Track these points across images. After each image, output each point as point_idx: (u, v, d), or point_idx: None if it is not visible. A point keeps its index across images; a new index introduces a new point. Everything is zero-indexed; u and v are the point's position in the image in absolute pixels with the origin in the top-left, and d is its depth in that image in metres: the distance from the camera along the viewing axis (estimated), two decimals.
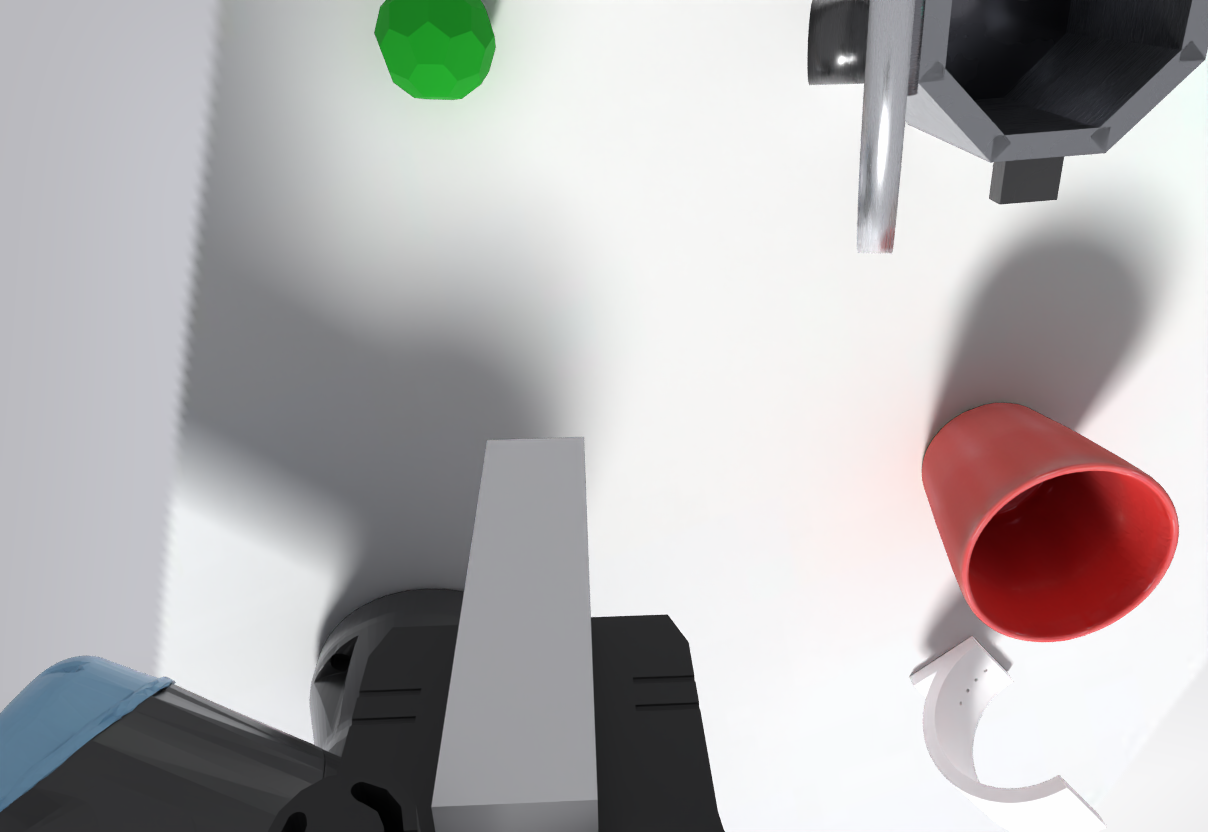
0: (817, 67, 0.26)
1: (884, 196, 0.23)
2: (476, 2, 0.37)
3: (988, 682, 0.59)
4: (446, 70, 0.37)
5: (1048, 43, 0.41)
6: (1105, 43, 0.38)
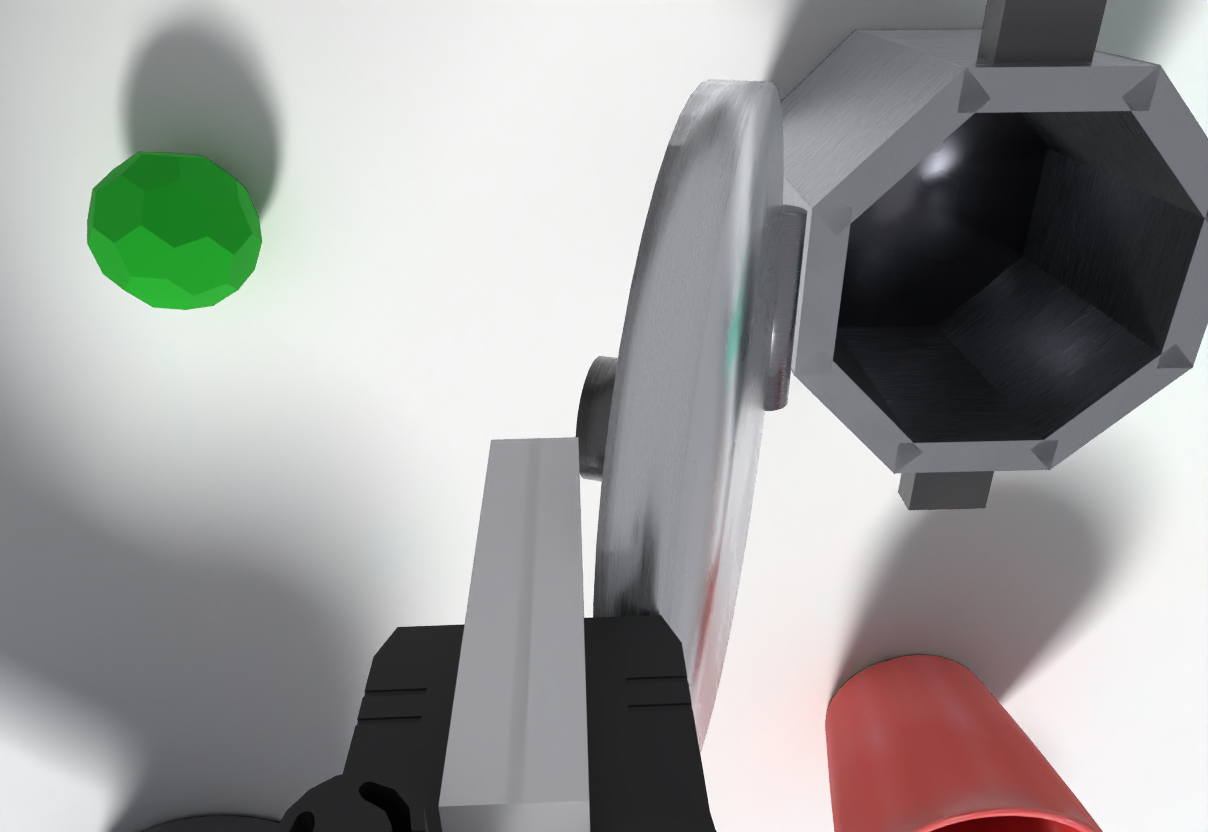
0: (593, 472, 0.17)
1: None
2: (225, 191, 0.27)
3: None
4: (173, 285, 0.27)
5: (999, 266, 0.32)
6: (1066, 296, 0.29)
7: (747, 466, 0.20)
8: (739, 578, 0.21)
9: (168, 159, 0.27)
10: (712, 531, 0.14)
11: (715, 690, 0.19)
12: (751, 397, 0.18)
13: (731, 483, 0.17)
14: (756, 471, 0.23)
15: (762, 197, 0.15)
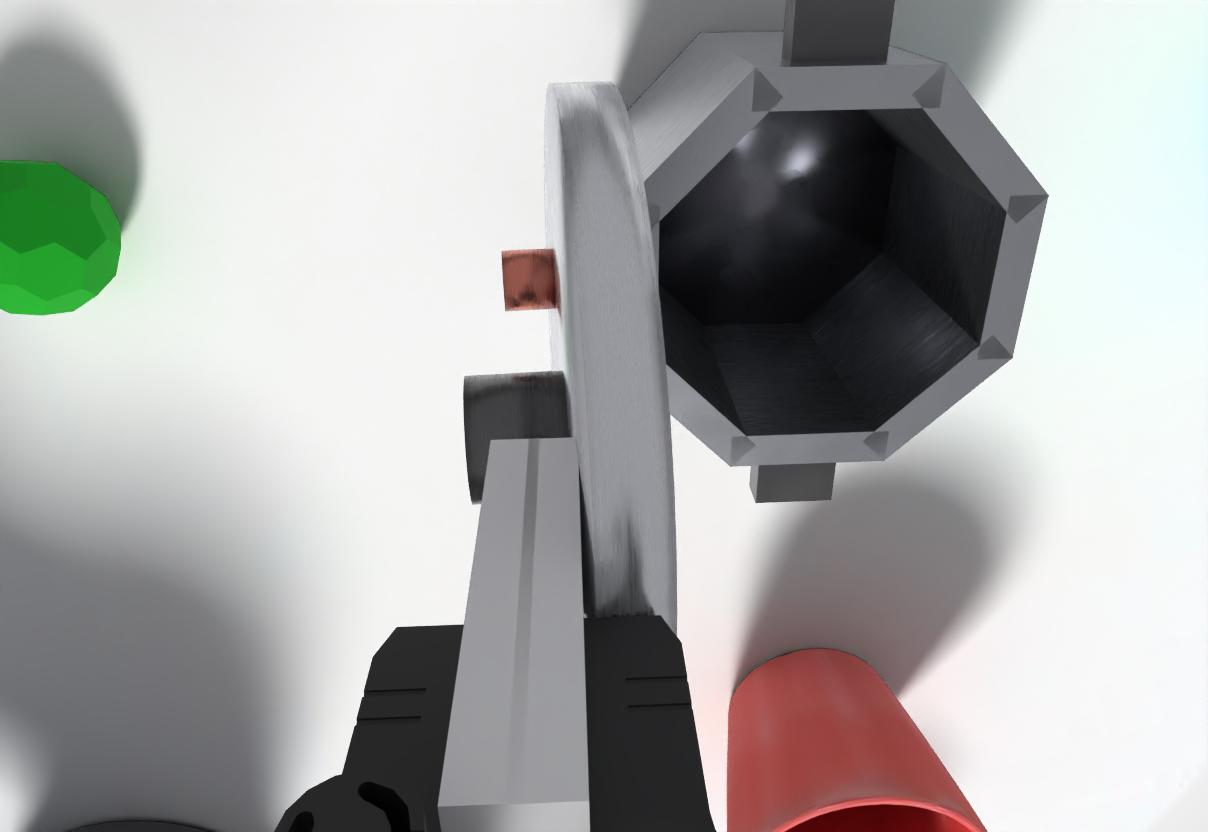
0: None
1: None
2: (76, 197, 0.28)
3: None
4: (23, 291, 0.27)
5: (859, 263, 0.32)
6: (912, 290, 0.29)
7: None
8: None
9: (16, 167, 0.27)
10: None
11: None
12: None
13: None
14: None
15: None
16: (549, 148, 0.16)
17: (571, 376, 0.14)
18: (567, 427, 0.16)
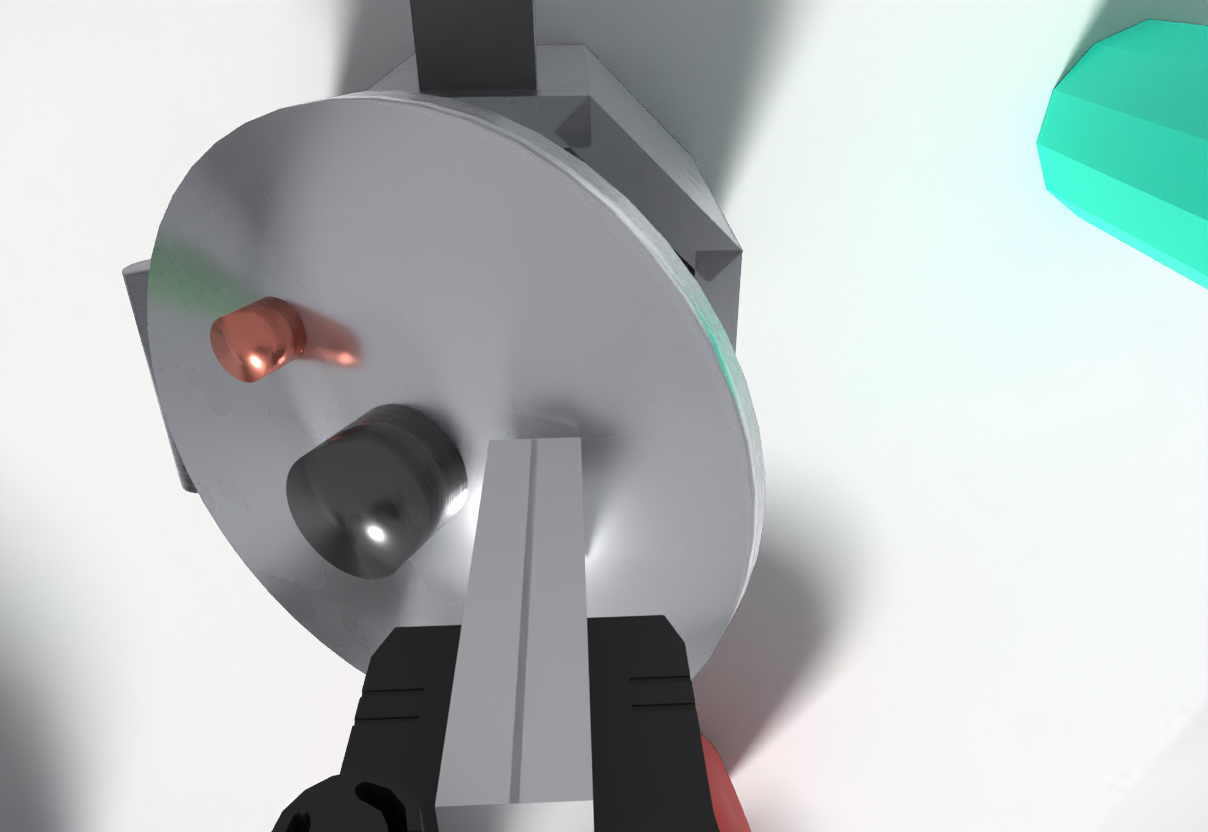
0: (412, 553, 0.15)
1: None
2: None
3: None
4: None
5: None
6: None
7: None
8: None
9: None
10: None
11: None
12: None
13: None
14: None
15: None
16: (277, 179, 0.14)
17: (525, 368, 0.14)
18: (448, 444, 0.15)
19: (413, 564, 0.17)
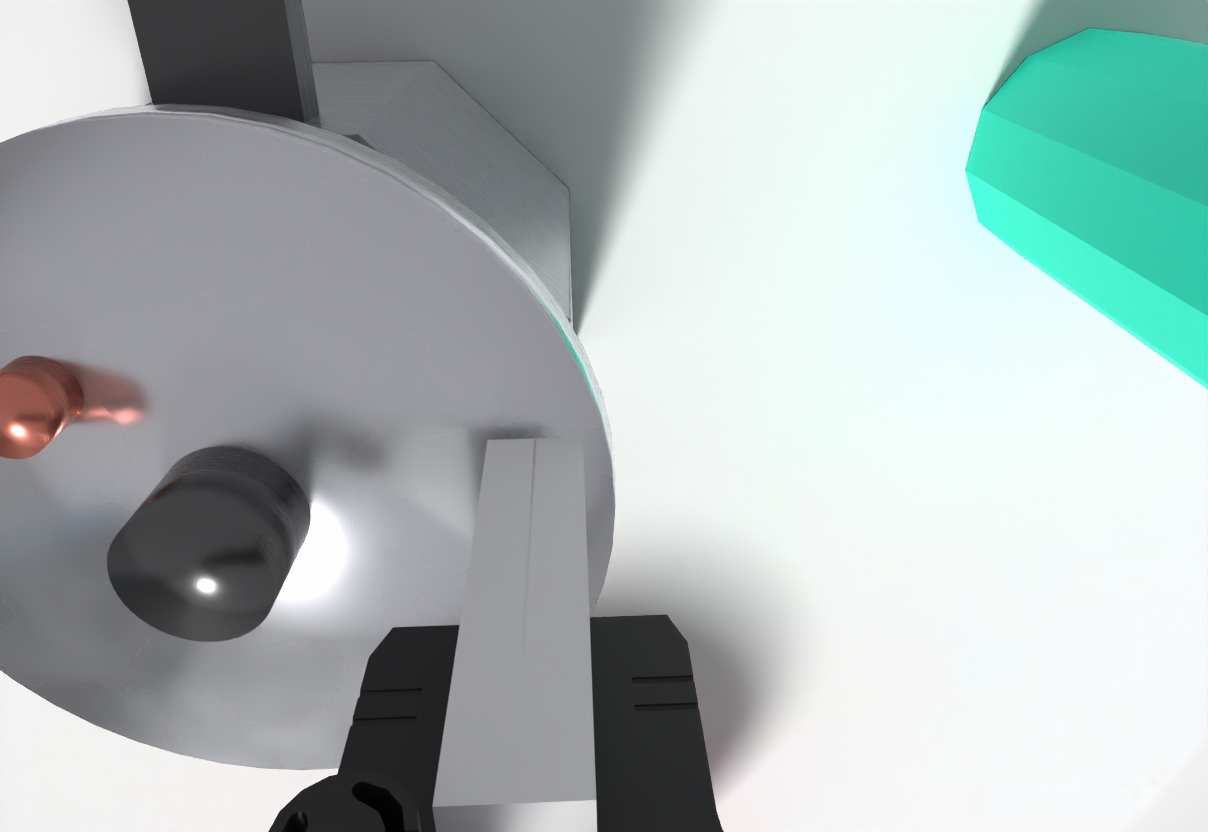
0: (276, 597, 0.14)
1: None
2: None
3: None
4: None
5: None
6: None
7: None
8: None
9: None
10: None
11: None
12: None
13: None
14: None
15: None
16: (23, 217, 0.12)
17: (368, 377, 0.13)
18: (283, 476, 0.14)
19: None
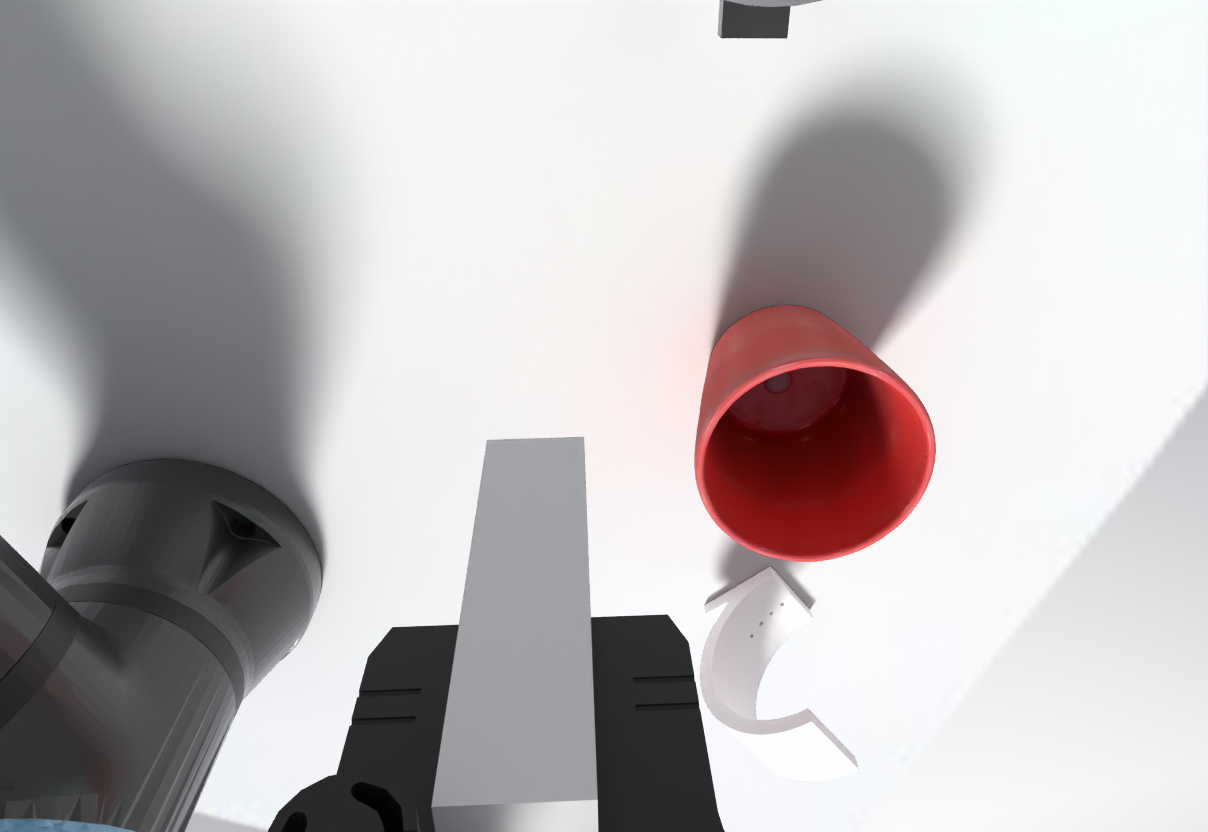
0: None
1: None
2: None
3: (785, 617, 0.55)
4: None
5: None
6: None
7: None
8: None
9: None
10: None
11: None
12: None
13: None
14: None
15: None
16: None
17: None
18: None
19: None
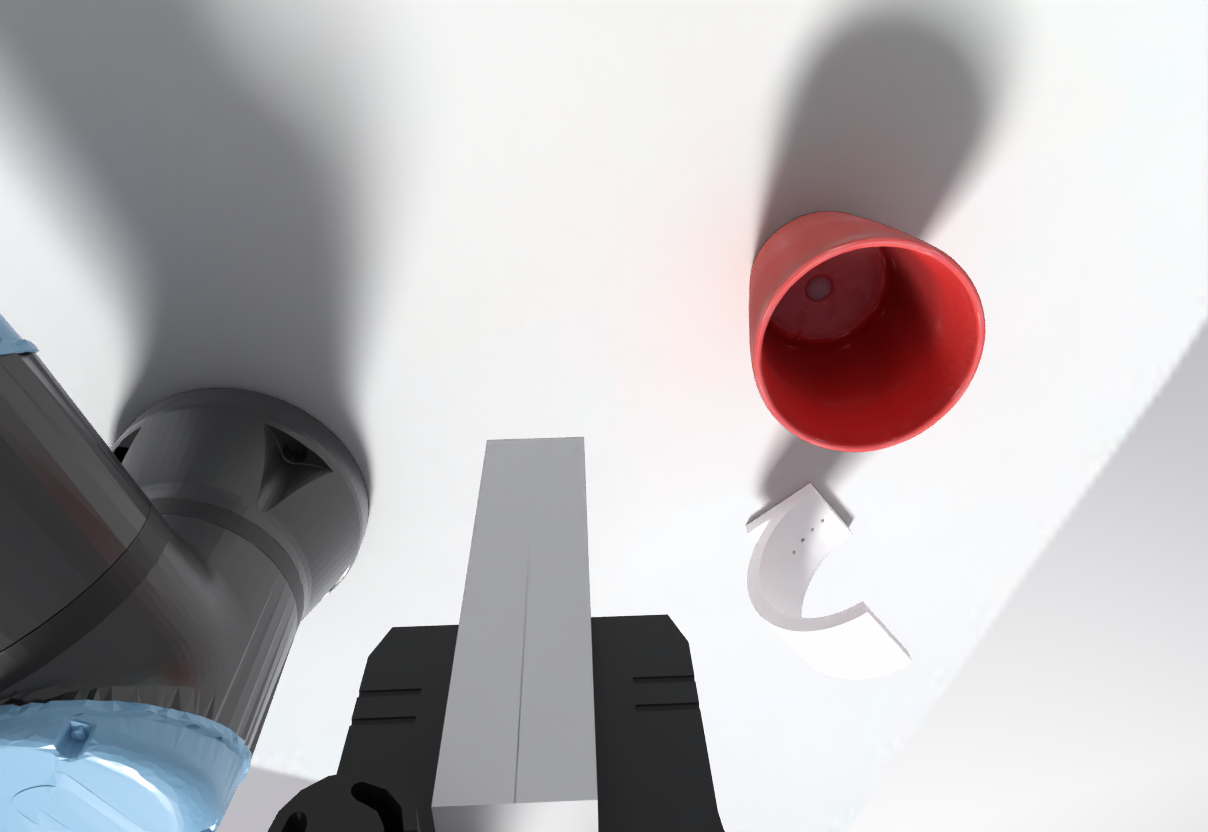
0: None
1: None
2: None
3: (826, 534, 0.56)
4: None
5: None
6: None
7: None
8: None
9: None
10: None
11: None
12: None
13: None
14: None
15: None
16: None
17: None
18: None
19: None
